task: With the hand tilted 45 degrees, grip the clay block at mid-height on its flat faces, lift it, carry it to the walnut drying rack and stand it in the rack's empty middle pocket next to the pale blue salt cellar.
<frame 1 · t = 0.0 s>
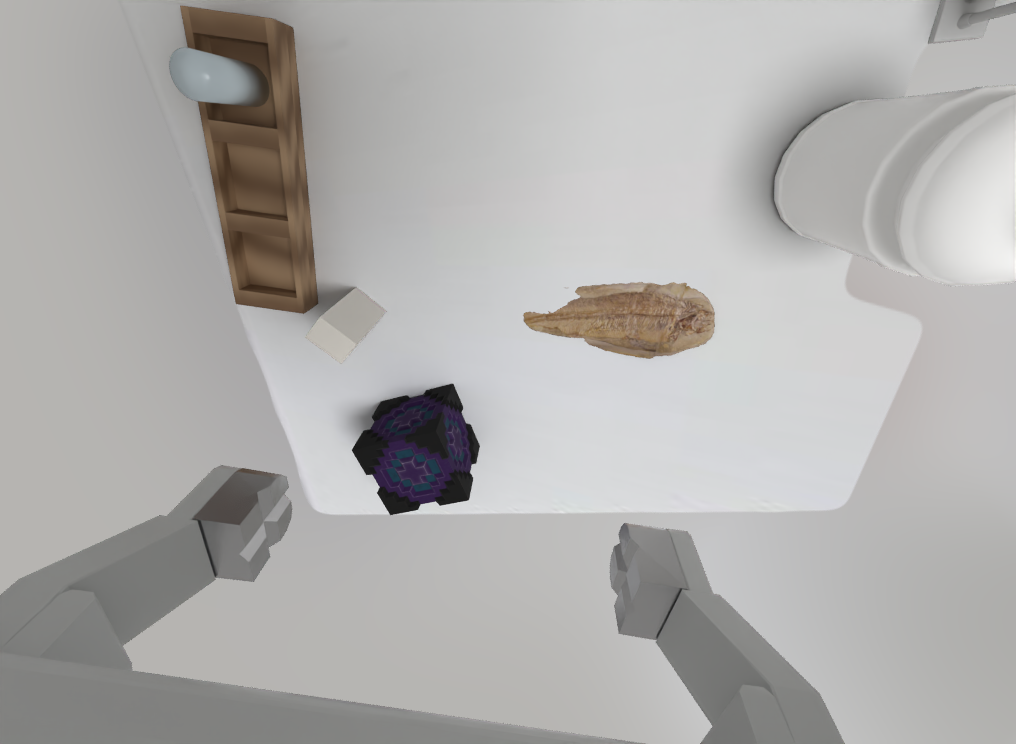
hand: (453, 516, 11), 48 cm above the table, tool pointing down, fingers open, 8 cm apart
clay block: (364, 308, 60), on the table
rack: (270, 179, 53), on the table
energy cube: (431, 423, 69), on the table
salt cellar: (250, 85, 47), point 1 cm above the table, touching rack
fish fossil: (615, 314, 59), on the table
bottle: (836, 173, 49), on the table
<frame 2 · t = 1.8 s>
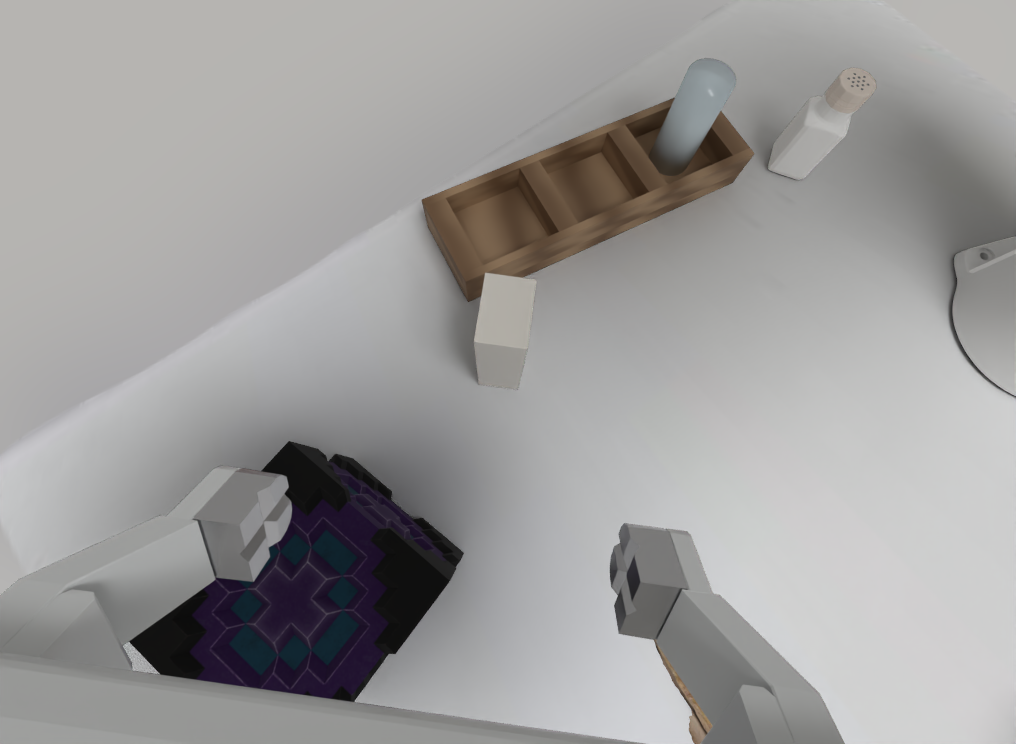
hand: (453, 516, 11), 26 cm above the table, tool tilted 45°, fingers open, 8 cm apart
clay block: (502, 360, 39), on the table
pepper shaker: (785, 164, 47), on the table
rack: (584, 204, 44), on the table
energy cube: (356, 567, 34), on the table
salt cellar: (668, 159, 44), point 1 cm above the table, touching rack
fish fossil: (756, 727, 33), on the table
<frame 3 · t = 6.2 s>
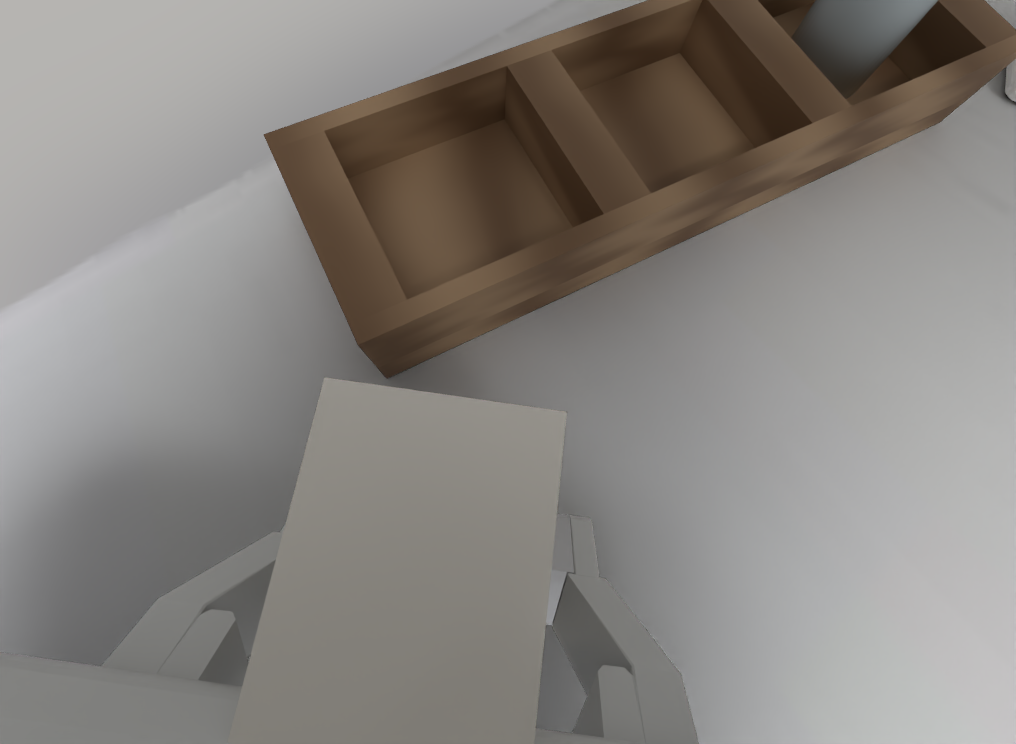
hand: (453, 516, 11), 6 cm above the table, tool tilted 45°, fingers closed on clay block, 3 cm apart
clay block: (462, 527, 16), on the table, touching gripper
rack: (645, 161, 21), on the table
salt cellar: (820, 69, 21), point 2 cm above the table, touching rack
when the fingers open (9 cm above the table, at t = 13.0 s): clay block drops 1 cm, resting on rack.
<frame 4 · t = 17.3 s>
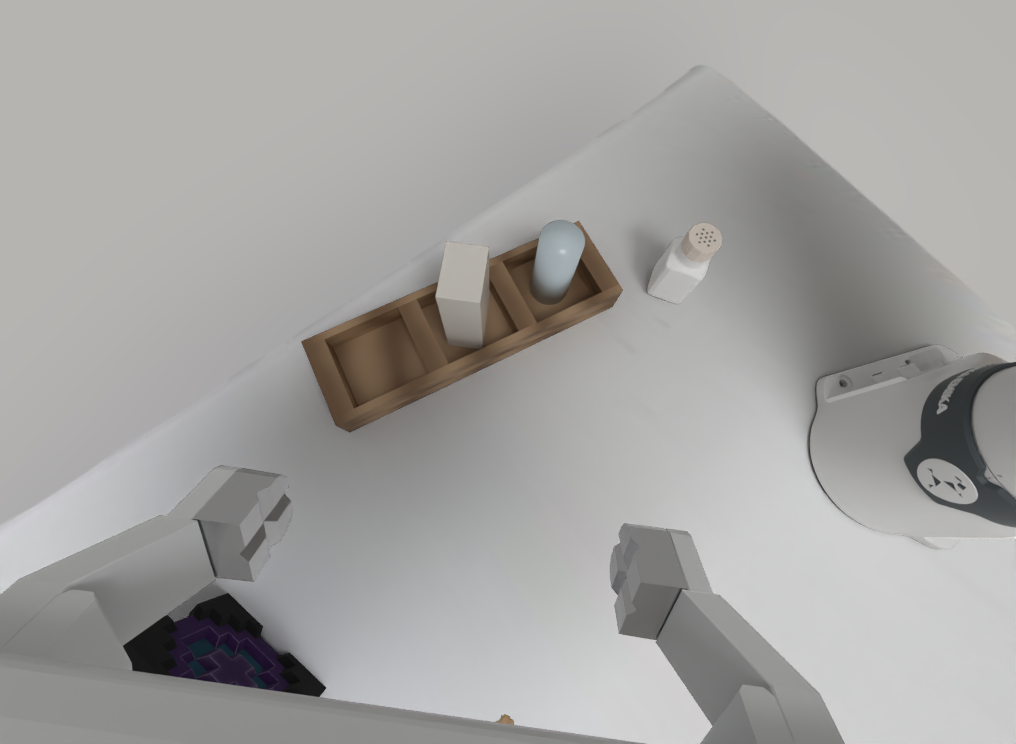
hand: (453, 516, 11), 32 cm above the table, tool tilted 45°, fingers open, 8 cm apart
clay block: (469, 324, 45), point 1 cm above the table, touching rack
pepper shaker: (665, 286, 49), on the table
rack: (469, 330, 47), on the table
energy cube: (224, 702, 37), on the table
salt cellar: (548, 288, 47), point 2 cm above the table, touching rack
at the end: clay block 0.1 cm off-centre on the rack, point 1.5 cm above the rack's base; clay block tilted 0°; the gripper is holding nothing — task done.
